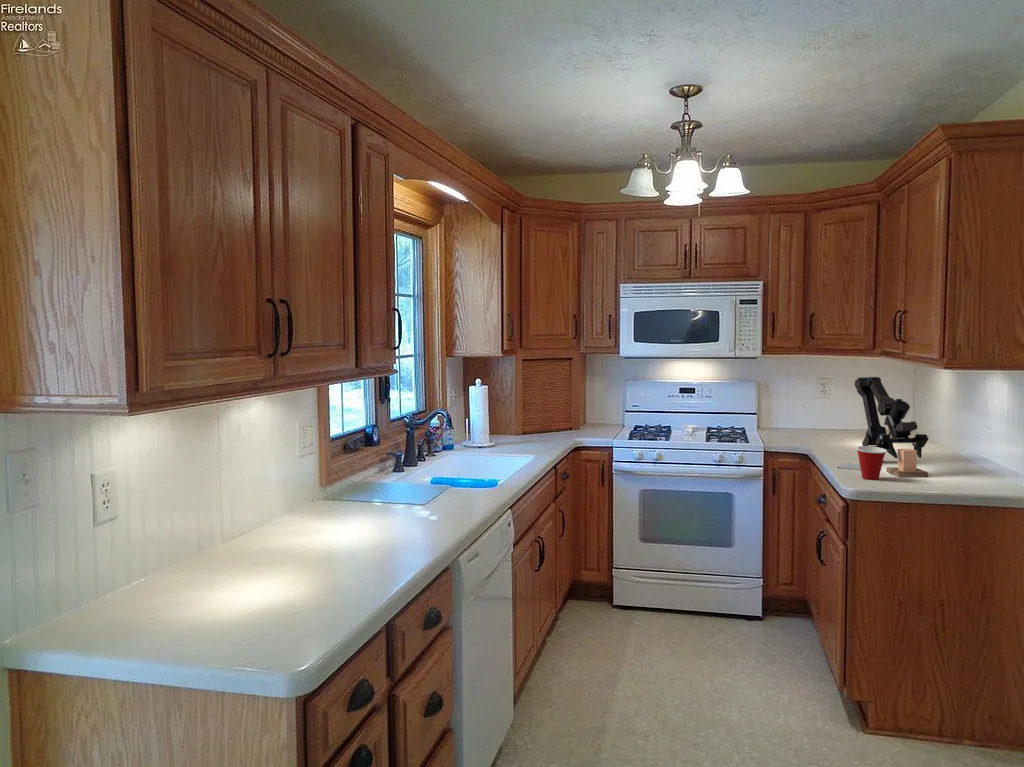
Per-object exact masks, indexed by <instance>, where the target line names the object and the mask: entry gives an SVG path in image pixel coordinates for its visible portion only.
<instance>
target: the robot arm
mask: <svg viewBox="0 0 1024 767" xmlns="http://www.w3.org/2000/svg"><path fill="white" fill-rule="evenodd" d="M854 387H855V389H856V392H857V393H858V394H859V396H861V398H862V403H863V407H864V408H863V409H864V412H865V418H866V423H867V429H866V431H865V433H864V434H865V436H864V439H862V442H861V446H871V447H879V448H883V449H886V450H887V452H886V453H888V454H889V455H890V456H892V457H893V458H895V459H898V452H896V449H895V447H894V444H912V446H913V450H916V451H917V458H919V459H921V458H922V451H923V450H922V448H924V447H925V446H926V444H927V442H928V441H929V436H928V435H927V434H926V433H916V434H915V436H914V437H909V436H911V434H912V431H915V430H917V429H918V423H917V422H916V421H915V420H914V421H910V422H909V421H908V422H906V421H905V422H903V421H902V420H904V419H905V418H906V416H907V414H908V412H909V411H910V409H911V406H910V404H909V403H907V402H906V401H904V400H902V398H896V399H894V398H892V397H890V396H889V393H888V392H887V390H886V389H885V386H884V385H883V383H882V379H881V377H879V376H867V377H866V376H864V377H857V379H855V381H854ZM876 401H877V403H878V405H877V403H876ZM879 415H880V416H882V417H883V416H884V417H885V416H886V417H885V419H884V422H883V423H884V425H885V426H887V428H888V431H889V432H888V433H887V429H886V427H885V426H882V425H881V423H880V418H879ZM884 462H885V460H884V459H883V463H884Z"/></svg>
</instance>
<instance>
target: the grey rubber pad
mask: <svg viewBox="0 0 1024 767" xmlns="http://www.w3.org/2000/svg"><path fill="white" fill-rule="evenodd" d="M837 467H839V468H838V469H841V468H847V469H846V470H852V469H857V470H856V471H861V469H860V463H858V464H857V463H849V462H844V463H841V464H840V465H837V466H836V468H837Z"/></svg>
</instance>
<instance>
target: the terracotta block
mask: <svg viewBox="0 0 1024 767" xmlns="http://www.w3.org/2000/svg"><path fill="white" fill-rule="evenodd" d="M917 460H918V456H917V451H916V450H914V448H913V449H911V448H897V467H898V470H900V471H916V470H917V468H918V467H917Z"/></svg>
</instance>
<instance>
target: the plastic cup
mask: <svg viewBox="0 0 1024 767" xmlns="http://www.w3.org/2000/svg"><path fill="white" fill-rule="evenodd" d="M871 446H872V445H869V446H862V445H861V446H856V447H855V449H856V452H857V456H858V462H859V464H860V469H861V470H860V471H861V472H860V474H861V477H862V479H863V480H867V481H868V480H869V481H872V480H873V481H876V480H879V479H880V475H881V471H882V467H883V463H884V462H883V460H884V458H885V455H886V453H888V452H887V450H886V449H883V448H879V447H871Z"/></svg>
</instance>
